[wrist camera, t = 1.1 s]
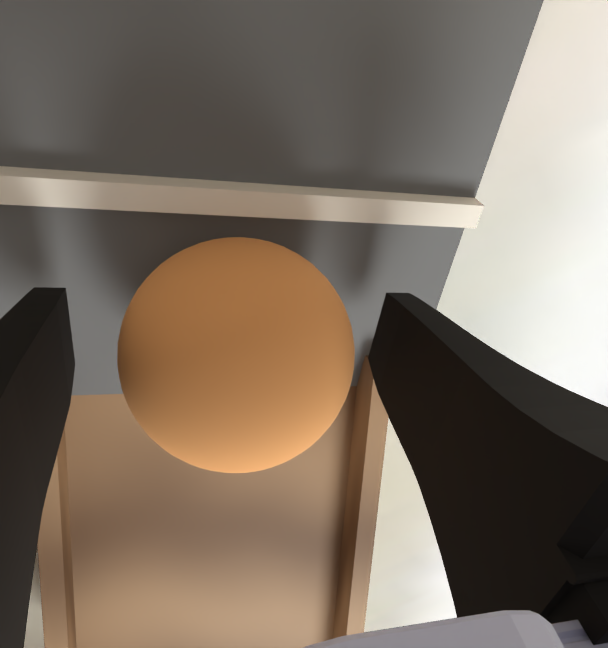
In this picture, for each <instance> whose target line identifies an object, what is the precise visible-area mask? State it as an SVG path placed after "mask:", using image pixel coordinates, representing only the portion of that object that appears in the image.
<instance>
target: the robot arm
mask: <svg viewBox="0 0 608 648" xmlns="http://www.w3.org/2000/svg"><path fill="white" fill-rule="evenodd" d="M368 360H369V364H370V368H371V371H372V375H373V379H374V382H375V385H376V388H377V392H378V394H379V396H380V399H381V401H382V403H383V406H384V408H385V410H386V412H387V414H388V417H389V419H390V421H391V423H392V425H393V427H394V430H395V432H396V434H397V436H398V438H399V440H400V443H401V445H402V447H403V449H404V451H405V453H406V455H407V458H408V460H409V462H410V464H411V466H412V469H413V471H414V474H415V476H416V479H417V481H418V484H419V486H420V489H421V492H422V495H423V498H424V501H425V504H426V507H427V510H428V513H429V516H430V520H431V523H432V526H433V530H434V533H435V536H436V540H437V543H438V546H439V550H440V553H441V556H442V560H443V564H444V567H445V571H446V575H447V579H448V582H449V586H450V590H451V594H452V597H453V601H454V606H455V610H456V614H457V618H452V619H446V620H440V621H433V622H427V623H421V624H415V625H408V626H402V627H396V628H389V629H383V630H377V631H370V632H364V633H358V634H352V635H345V636H341V637H337V638H334V639H330V640H327V641H323V642H319V643H316V644H312V645H309V646H305V647H303V648H608V407H606V406H604V405H601V404H599V403H596V402H594V401H592V400H589V399H587V398H585V397H583V396H580V395H578V394H576V393H574V392H571V391H569V390H567V389H565V388H563V387H561V386H559V385H556V384H554V383H552V382H550V381H549V380H547V379H545V378H543V377H541V376H539V375H537V374H535V373H533V372H531V371H530V370H528V369H526V368H524V367H522V366H521V365H519V364H517V363H515V362H514V361H512V360H510V359H509V358H507V357H506V356H504V355H502V354H501V353H499V352H497V351H496V350H494V349H493V348H491V347H490V346H488V345H486V344H485V343H483V342H482V341H480V340H479V339H477V338H476V337H474V336H473V335H471V334H470V333H469V332H467V331H466V330H464V329H463V328H461V327H460V326H458V325H457V324H456V323H454V322H453V321H451V320H450V319H448V318H447V317H446V316H444V315H443V314H441V313H440V312H438V311H437V310H436V309H434V308H433V307H431V306H430V305H428V304H427V303H425V302H424V301H422V300H421V299H419V298H417V297H416V296H414V295H412V294H410V293H386V295H385V299H384V302H383V306H382V309H381V313H380V317H379V320H378V324H377V327H376V331H375V335H374V338H373V342H372V345H371V349H370V352H369V356H368ZM74 371H75V357H74V349H73V341H72V333H71V325H70V317H69V309H68V301H67V292H66V288H50V287H34V288H33V289H32V290H30V291H29V292H28V293H27V294H26V295H25V296H24V297H23V298H22V299H21V300H20V301H18V302H17V303H16V304H15V305H14V306H13V307H12V308H11V309H10V310H9V311H8V312H7V313H6V314H5V315H4V316H3V317H2V318H1V319H0V648H24V639H25V631H26V623H27V615H28V607H29V600H30V592H31V585H32V578H33V571H34V563H35V556H36V550H37V543H38V537H39V530H40V524H41V517H42V512H43V507H44V503H45V498H46V494H47V490H48V486H49V482H50V479H51V475H52V471H53V468H54V464H55V460H56V456H57V453H58V449H59V445H60V442H61V438H62V434H63V430H64V427H65V423H66V419H67V415H68V411H69V407H70V403H71V395H72V388H73V379H74Z"/></svg>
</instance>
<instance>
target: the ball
mask: <svg viewBox="0 0 608 648" xmlns="http://www.w3.org/2000/svg"><path fill="white" fill-rule="evenodd" d="M354 359H355V347H354V339H353V333H352V326H351V323H350V320H349V317H348V314H347V312H346V309H345V306H344V304H343V302H342V301H341V299H340V297H339V295H338V293H337V292H336V290H335V289H334V287H333V286H332V284H331V283H330V282H329V281H328V279H327V278H326V277H325V276H324V275H323V274H322V273H321V272H320V271H319V270H318V269H317V268H316V267H315V266H314V265H313V264H312V263H310V262H309V261H308V260H306V259H305V258H303V257H302V256H300V255H299V254H297V253H295V252H293V251H291V250H289V249H287V248H285V247H284V246H281V245H278V244H275V243H273V242H269V241H265V240H260V239H255V238H245V237H227V238H219V239H213V240H209V241H205V242H201V243H198V244H196V245H193V246H191V247H188V248H186V249H184V250H182V251H180V252H178V253H176V254H174V255H173V256H171V257H170V258H168V259H167V260H166V261H164V262H163V263H161V264H160V265H159V266H158V267H157V268H156V269H155V270H154V271H153V272H152V273H151V274H150V275H149V276H148V277H147V278H146V279H145V281H144V282H143V283H142V284H141V286H140V287H139V288H138V289H137V291H136V293H135V295H134V296H133V298H132V300H131V302H130V304H129V306H128V308H127V310H126V313H125V315H124V318H123V320H122V325H121V329H120V334H119V339H118V350H117V366H118V373H119V379H120V383H121V388H122V391H123V394H124V397H125V400H126V402H127V404H128V406H129V408H130V410H131V412H132V414H133V416H134V417H135V419H136V420H137V422H138V423H139V424H140V426H141V427H142V428H143V430H144V431H145V432H146V433H147V435H148V436H149V437H150V438H151V439H152V440H153V441H155V442H156V443H157V444H158V445H159V446H160V447H161V448H163V449H164V450H165V451H167V452H168V453H170V454H171V455H172V456H174V457H176V458H178V459H180V460H182V461H184V462H186V463H188V464H190V465H193V466H196V467H198V468H202V469H206V470H210V471H216V472H223V473H248V472H256V471H261V470H265V469H268V468H272V467H275V466H277V465H280V464H282V463H285V462H287V461H289V460H291V459H292V458H294V457H296V456H297V455H299V454H301V453H302V452H304V451H305V450H307V449H308V448H309V447H311V446H312V445H313V444H314V443H315V442H316V441H317V440H319V438H320V437H321V436H322V435H323V434H324V433H325V432H326V431H327V429H328V428H329V427H330V426H331V425H332V423H333V422H334V420H335V419H336V417H337V416H338V414H339V412H340V410H341V408H342V406H343V404H344V402H345V400H346V398H347V395H348V392H349V389H350V385H351V381H352V377H353V371H354Z"/></svg>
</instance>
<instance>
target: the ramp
mask: <svg viewBox="0 0 608 648" xmlns="http://www.w3.org/2000/svg"><path fill="white" fill-rule="evenodd" d="M368 356H369V355H365V358H364V361H363V365H362V369H361V372H360V376H359V380H358V383H357V386H350V389H349V392H348V395H347V398H346V400H345V402H344V404H343V406H342V408H341V410H340V412H339V414H338V416H337V417H336V419H335V420H334V422H333V423H332V425H331V426H330V427H329V428H328V429H327V431H326V432H325V433H324V434H323V435H322V436H321V437H320V438H319V440H317V441H316V442H315V443H314V444H313V445H312V446H311V447H309V448H308V449H307V450H305V451H304V452H302V453H301V454H299V455H297V456H296V457H294V458H292V459H291V460H289V461H287V462H285V463H282V464H280V465H277V466H275V467H272V468H268V469H265V470H261V471H256V472H248V473H223V472H216V471H210V470H206V469H202V468H198V467H196V466H193V465H190V464H188V463H186V462H184V461H182V460H180V459H178V458H176V457H174V456H172V455H171V454H170V453H168V452H167V451H165V450H164V449H163V448H161V447H160V446H159V445H158V444H157V443H156V442H155V441H153V440H152V439H151V438H150V437H149V436H148V435H147V433H146V432H145V431H144V430H143V428H142V427H141V426H140V424H139V423H138V422H137V420H136V419H135V417H134V416H133V414H132V412H131V410H130V408H129V406H128V404H127V402H126V400H125V397H124V394H102V395H72V396H71V403H70V407H69V411H68V415H67V419H66V423H65V427H64V430H63V434H62V438H61V442H60V445H59V449H58V453H57V456H56V460H55V464H54V468H53V471H52V475H51V479H50V482H49V486H48V490H47V494H46V498H45V503H44V507H43V512H42V517H41V524H40V530H39V537H38V543H37V545H38V559H39V574H40V588H41V602H42V616H43V630H44V644H45V648H303V647H305V646H309V645H312V644H316V643H319V642H323V641H327V640H330V639H334V638H337V637H341V636H345V635H352V634H358V633H364V625H365V616H366V607H367V599H368V590H369V581H370V572H371V564H372V555H373V546H374V537H375V529H376V520H377V511H378V502H379V494H380V485H381V476H382V467H383V459H384V450H385V441H386V432H387V424H388V414H387V412H386V410H385V408H384V406H383V403H382V401H381V399H380V396H379V394H378V392H377V388H376V385H375V382H374V379H373V375H372V371H371V368H370V364H369V360H368Z"/></svg>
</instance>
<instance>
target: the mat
mask: <svg viewBox="0 0 608 648" xmlns="http://www.w3.org/2000/svg"><path fill="white" fill-rule="evenodd" d="M542 3H543V0H0V319H1V318H2V317H3V316H4V315H5V314H6V313H7V312H8V311H9V310H10V309H11V308H12V307H13V306H14V305H15V304H16V303H17V302H18V301H20V300H21V299H22V298H23V297H24V296H25V295H26V294H27V293H28V292H29V291H30V290H32V289H33V288H34V287H50V288H66V292H67V301H68V309H69V317H70V325H71V333H72V341H73V349H74V357H75V371H74V379H73V388H72V395H102V394H123V391H122V388H121V383H120V379H119V373H118V366H117V350H118V339H119V334H120V329H121V325H122V320H123V318H124V315H125V313H126V310H127V308H128V306H129V304H130V302H131V300H132V298H133V296H134V295H135V293H136V291H137V289H138V288H139V287H140V286H141V284H142V283H143V282H144V281H145V279H146V278H147V277H148V276H149V275H150V274H151V273H152V272H153V271H154V270H155V269H156V268H157V267H158V266H159V265H160V264H161V263H163V262H164V261H166V260H167V259H168V258H170V257H171V256H173V255H174V254H176V253H178V252H180V251H182V250H184V249H186V248H188V247H191V246H193V245H196V244H198V243H201V242H205V241H209V240H213V239H219V238H227V237H245V238H255V239H260V240H265V241H269V242H273V243H275V244H278V245H281V246H284V247H285V248H287V249H289V250H291V251H293V252H295V253H297V254H299V255H300V256H302V257H303V258H305V259H306V260H308V261H309V262H310V263H312V264H313V265H314V266H315V267H316V268H317V269H318V270H319V271H320V272H321V273H322V274H323V275H324V276H325V277H326V278H327V279H328V281H329V282H330V283H331V284H332V286H333V287H334V289H335V290H336V292H337V293H338V295H339V297H340V299H341V301H342V302H343V304H344V306H345V309H346V312H347V314H348V317H349V320H350V323H351V326H352V333H353V339H354V347H355V359H354V371H353V377H352V381H351V385H350V386H357V383H358V380H359V376H360V372H361V369H362V365H363V361H364V358H365V355H369V352H370V349H371V345H372V342H373V338H374V335H375V331H376V327H377V324H378V320H379V317H380V313H381V309H382V306H383V302H384V299H385V295H386V293H410V294H412V295H414V296H416V297H417V298H419V299H421V300H422V301H424V302H425V303H427V304H428V305H430V306H431V307H433V308H434V309H436V308H437V305H438V302H439V300H440V297H441V294H442V291H443V288H444V285H445V282H446V279H447V276H448V274H449V271H450V268H451V265H452V262H453V259H454V256H455V253H456V251H457V248H458V245H459V242H460V239H461V236H462V233H463V230H464V228H476V227H477V225H478V222H479V219H480V216H481V214H482V211H483V208H484V205H483V204H481V203H480V202H479V201H478V200H477V199H476V198H475V196H476V193H477V190H478V187H479V184H480V182H481V179H482V176H483V173H484V170H485V167H486V164H487V161H488V159H489V156H490V153H491V150H492V147H493V144H494V141H495V138H496V136H497V133H498V130H499V127H500V124H501V121H502V118H503V115H504V112H505V110H506V107H507V104H508V101H509V98H510V95H511V92H512V89H513V87H514V84H515V81H516V78H517V75H518V72H519V69H520V66H521V64H522V61H523V58H524V55H525V52H526V49H527V46H528V43H529V41H530V38H531V35H532V32H533V29H534V26H535V23H536V20H537V18H538V15H539V12H540V9H541V6H542ZM72 395H71V396H72Z"/></svg>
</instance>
